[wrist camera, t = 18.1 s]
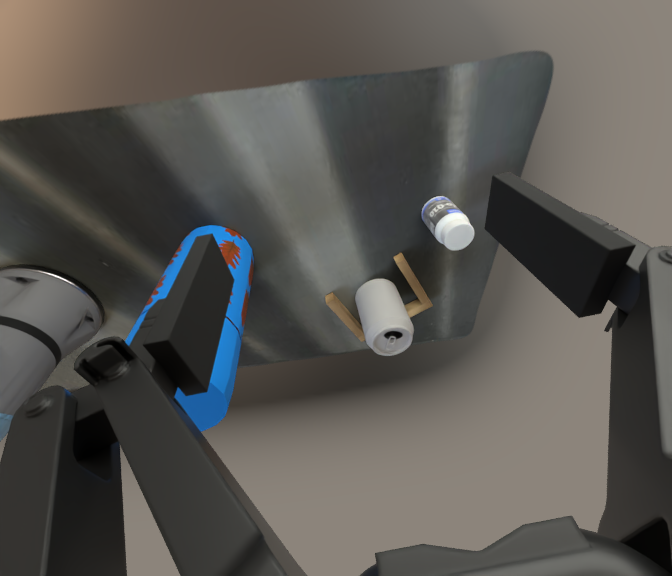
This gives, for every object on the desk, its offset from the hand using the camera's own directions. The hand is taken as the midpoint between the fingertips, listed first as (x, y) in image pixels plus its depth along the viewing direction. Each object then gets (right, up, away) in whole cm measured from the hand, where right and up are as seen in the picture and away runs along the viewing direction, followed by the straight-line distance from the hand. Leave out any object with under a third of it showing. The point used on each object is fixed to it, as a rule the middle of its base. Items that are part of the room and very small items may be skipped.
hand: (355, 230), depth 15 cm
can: (+6, -3, +41) cm, 41 cm away
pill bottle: (+14, +9, +32) cm, 36 cm away
